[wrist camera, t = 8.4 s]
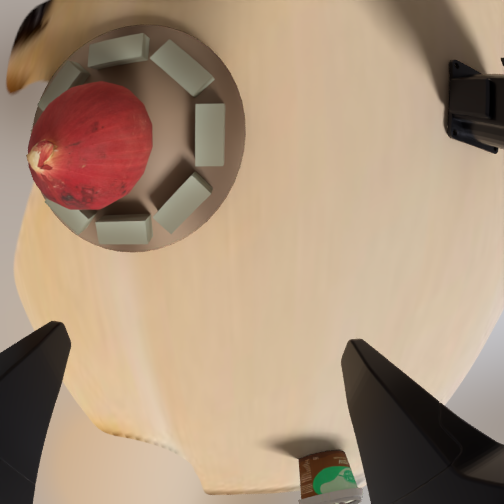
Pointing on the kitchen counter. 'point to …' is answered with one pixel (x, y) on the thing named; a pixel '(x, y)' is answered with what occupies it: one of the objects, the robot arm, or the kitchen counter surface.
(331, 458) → the food container
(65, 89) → the display stand
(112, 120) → the pomegranate
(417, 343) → the kitchen counter surface
